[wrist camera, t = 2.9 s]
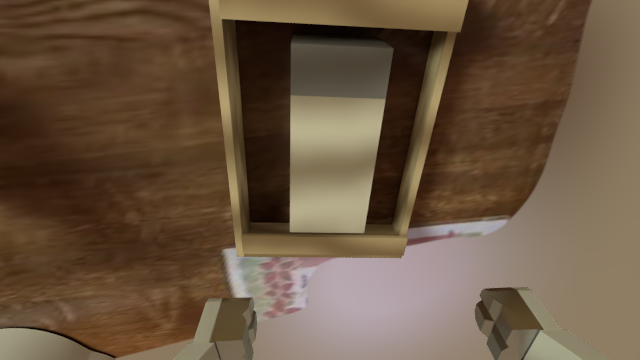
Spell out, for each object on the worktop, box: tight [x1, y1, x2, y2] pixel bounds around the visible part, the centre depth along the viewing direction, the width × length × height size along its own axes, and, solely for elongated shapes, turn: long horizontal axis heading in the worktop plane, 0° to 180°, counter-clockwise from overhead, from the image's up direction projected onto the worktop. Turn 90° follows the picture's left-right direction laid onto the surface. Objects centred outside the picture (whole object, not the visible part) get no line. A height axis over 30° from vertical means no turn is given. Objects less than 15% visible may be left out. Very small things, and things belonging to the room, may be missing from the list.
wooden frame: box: [209, 0, 468, 258], centre depth 24 cm, size 21×15×4 cm
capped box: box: [290, 33, 394, 233], centre depth 24 cm, size 14×6×5 cm, turn 177°
